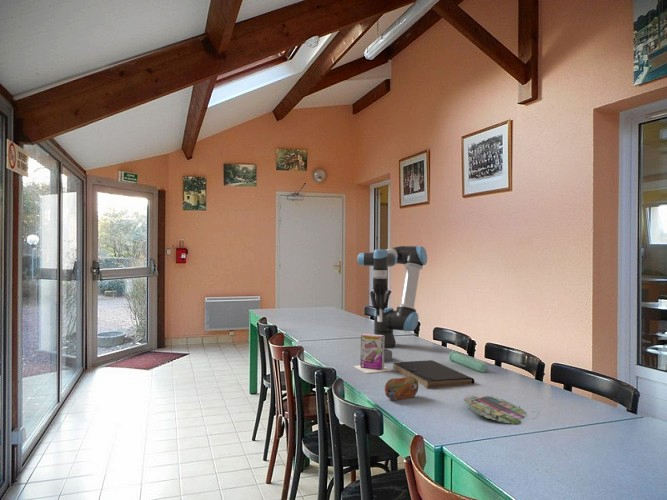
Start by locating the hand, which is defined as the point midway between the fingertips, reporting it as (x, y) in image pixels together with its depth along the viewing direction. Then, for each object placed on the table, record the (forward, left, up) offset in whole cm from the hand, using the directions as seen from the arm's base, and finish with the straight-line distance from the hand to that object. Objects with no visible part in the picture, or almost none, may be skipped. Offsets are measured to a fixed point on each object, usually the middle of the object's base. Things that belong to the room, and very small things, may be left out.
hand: (379, 321), depth 248 cm
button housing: (0, 0, -20) cm, 20 cm away
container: (-35, +30, -21) cm, 50 cm away
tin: (+24, +60, -21) cm, 68 cm away
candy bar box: (+13, +16, -20) cm, 29 cm away
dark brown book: (-6, +38, -21) cm, 44 cm away
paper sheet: (+13, +16, -20) cm, 29 cm away
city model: (+1, +87, -21) cm, 90 cm away
